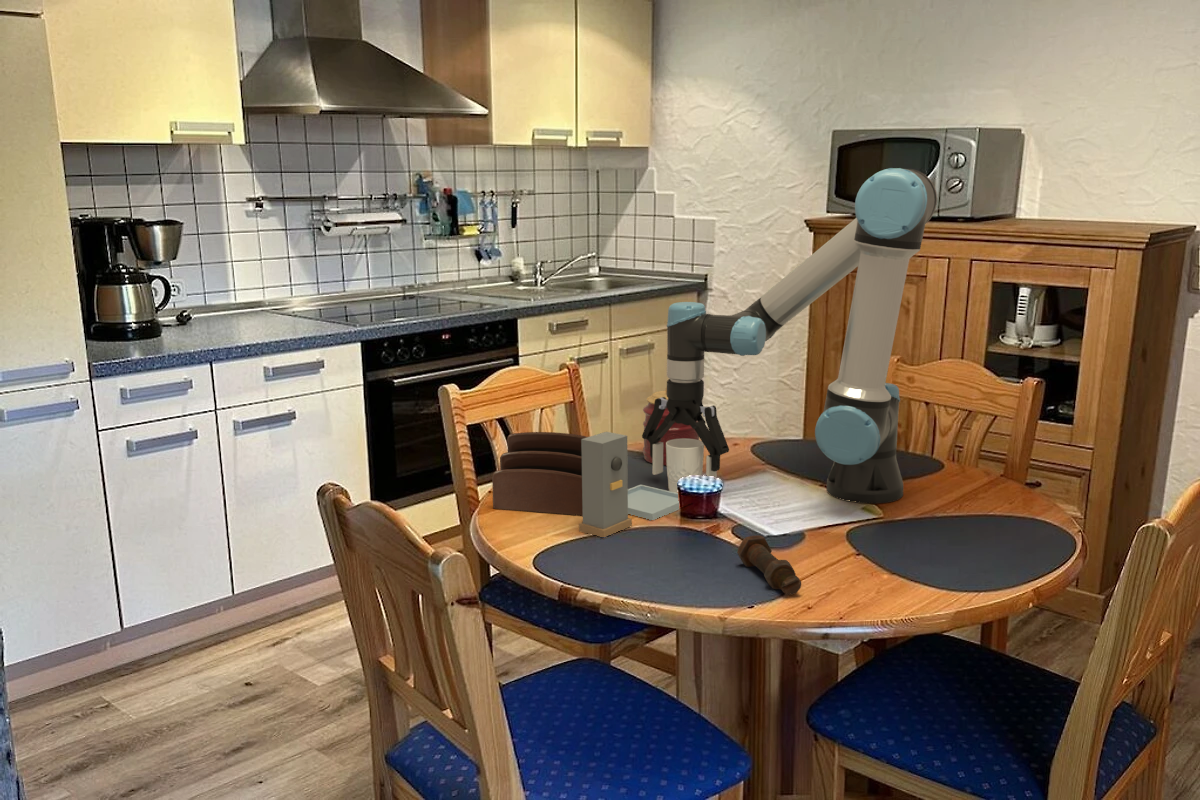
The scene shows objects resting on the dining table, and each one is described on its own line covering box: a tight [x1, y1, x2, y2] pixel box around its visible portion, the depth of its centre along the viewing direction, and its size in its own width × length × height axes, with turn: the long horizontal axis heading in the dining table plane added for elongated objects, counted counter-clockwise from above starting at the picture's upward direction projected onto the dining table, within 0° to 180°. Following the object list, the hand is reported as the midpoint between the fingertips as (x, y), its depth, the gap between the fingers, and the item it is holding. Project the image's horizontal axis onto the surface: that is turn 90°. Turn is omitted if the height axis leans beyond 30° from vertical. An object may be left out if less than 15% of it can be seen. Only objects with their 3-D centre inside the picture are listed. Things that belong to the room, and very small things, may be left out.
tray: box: [628, 484, 680, 521], centre depth 197 cm, size 13×13×1 cm
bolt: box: [736, 534, 802, 596], centre depth 160 cm, size 6×5×15 cm
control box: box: [578, 431, 633, 538], centre depth 183 cm, size 6×8×18 cm
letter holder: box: [491, 431, 588, 517], centre depth 197 cm, size 10×20×14 cm, turn 74°
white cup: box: [666, 438, 705, 493], centre depth 206 cm, size 8×8×10 cm
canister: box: [642, 386, 700, 467], centre depth 228 cm, size 13×13×18 cm
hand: (683, 479), depth 207 cm, fingers open, 13 cm apart
